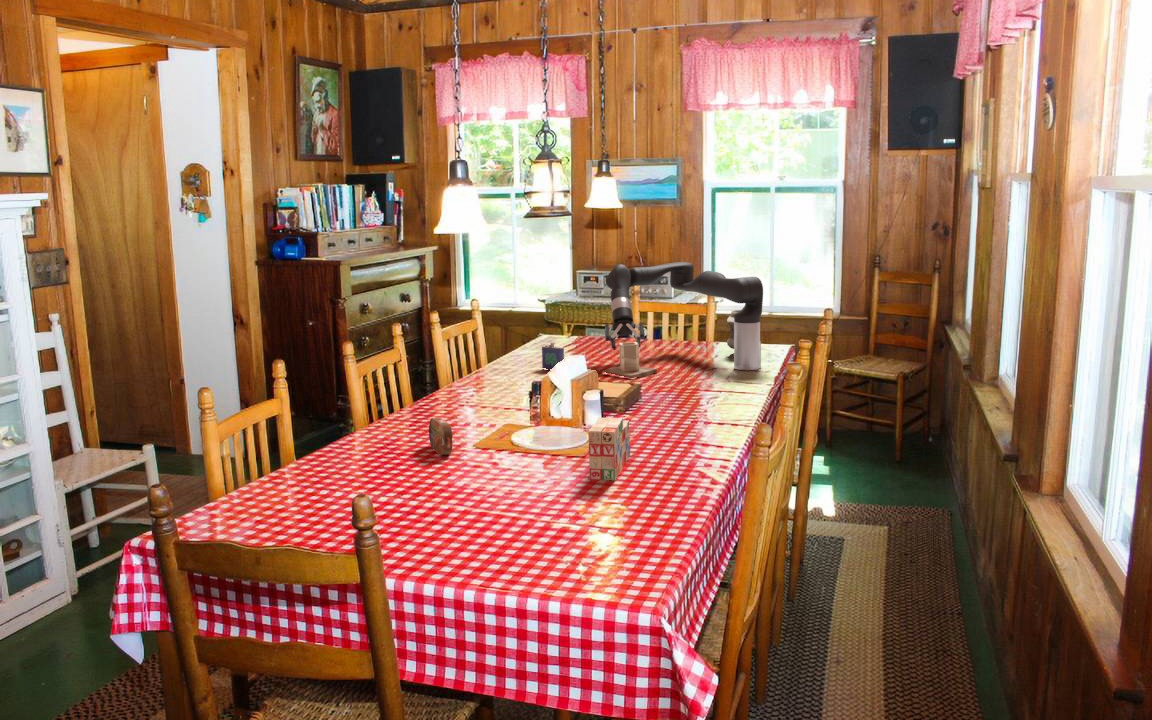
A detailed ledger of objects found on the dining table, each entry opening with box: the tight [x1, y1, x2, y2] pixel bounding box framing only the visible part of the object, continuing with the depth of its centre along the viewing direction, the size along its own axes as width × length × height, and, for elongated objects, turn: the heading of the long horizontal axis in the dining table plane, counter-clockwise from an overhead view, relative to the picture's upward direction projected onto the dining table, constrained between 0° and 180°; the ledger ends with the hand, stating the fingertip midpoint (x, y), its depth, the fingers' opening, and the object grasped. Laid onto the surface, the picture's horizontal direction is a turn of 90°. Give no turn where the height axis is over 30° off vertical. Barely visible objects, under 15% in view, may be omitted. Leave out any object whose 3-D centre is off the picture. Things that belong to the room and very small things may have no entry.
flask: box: [541, 341, 565, 370], centre depth 346 cm, size 9×3×11 cm, turn 61°
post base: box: [601, 365, 658, 378], centre depth 336 cm, size 14×14×10 cm
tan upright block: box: [618, 341, 640, 371], centre depth 336 cm, size 5×6×10 cm
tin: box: [428, 417, 453, 456], centre depth 247 cm, size 15×3×8 cm, turn 23°
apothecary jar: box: [726, 309, 741, 358], centre depth 362 cm, size 12×12×18 cm
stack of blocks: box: [588, 417, 631, 482], centre depth 229 cm, size 21×6×12 cm, turn 167°
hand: (626, 348), depth 337 cm, fingers open, 8 cm apart
